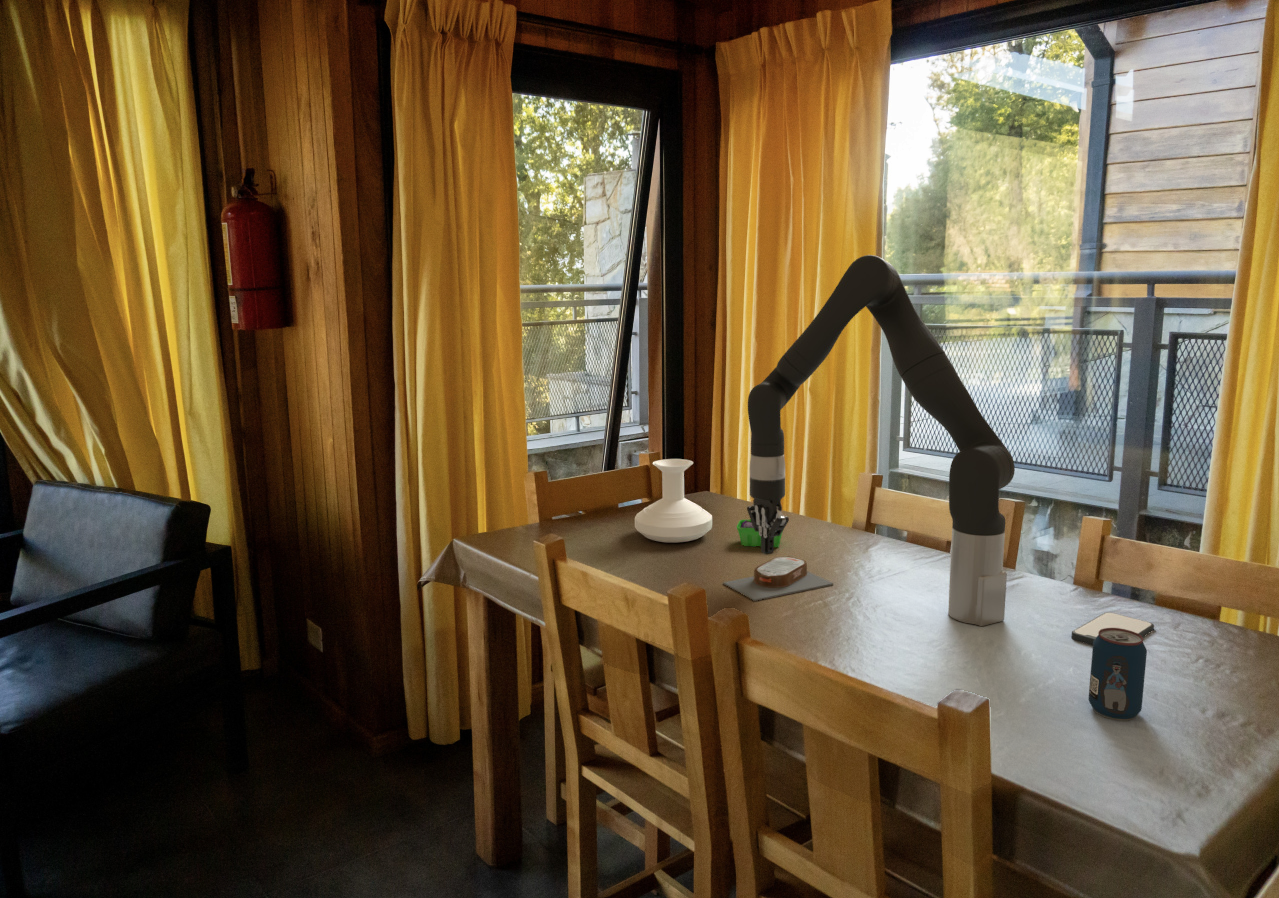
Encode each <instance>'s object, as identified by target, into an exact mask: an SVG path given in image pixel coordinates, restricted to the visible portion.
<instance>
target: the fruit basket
mask: <svg viewBox="0 0 1279 898" xmlns="http://www.w3.org/2000/svg"><path fill="white" fill-rule="evenodd" d="M736 530H737V532H738V535H739V540H740V545H741V546H742V545H744V546H743V547H756V546H760V547H761V536H760V535H759V532H758V531H757V532H756V531H755V529H754V527H753V524H752V522H751V519H750V518H749V519H740V520H739V521H738V523H737V525H736ZM783 533H784V530H783V531H782V533H781V535H780V536H775V537H774V548H779V547H780V543H781V539H782V536H783Z"/></svg>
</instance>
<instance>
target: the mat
mask: <svg viewBox="0 0 1279 898" xmlns="http://www.w3.org/2000/svg"><path fill="white" fill-rule="evenodd" d="M753 579H754V575H753V576H749V577H743V578H739V579H732V580H727V581H723V582H722V584H723V585H724V586H726V587H727V586H728V587H727V588H729V587H730V588H729V589H731V588H732V589H731V590H733V589H734V590H733V591H735V590H736V591H738V592H740V593H742V594H744V595H745V596H747V597H749V598H750V599H749V598H748V599H749V600H751V599H752V600H753V602H758V600H759V601H762V599H764V600H768V599H771V598H776V597H782V596H783V597H784V596H787V595H791V594H797V593H801V592H802V593H803V592H806V591H811V590H817V589H820V588H825V587H829V586H834V582H832V581H829V580H827V579H825V578H823V577H821V576H819V575H816V574H815V573H813V572H810V571H809V570H807V575H806V576H804V577H803V578H801V579H799V580H797V581H796V582H794V583H792V584H791V585H789V586H786V587H780V588H771V587H764V586H760V585H758V584H756V583H755V582H754V581H753ZM736 591H735V592H736ZM738 592H737V593H738ZM740 593H739V594H740ZM742 594H741V595H742ZM744 595H743V596H744ZM745 596H744V597H745ZM747 597H746V598H747ZM752 600H751V601H752Z"/></svg>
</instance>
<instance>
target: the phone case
mask: <svg viewBox="0 0 1279 898" xmlns="http://www.w3.org/2000/svg"><path fill="white" fill-rule="evenodd" d="M1104 628H1120V629H1126V630H1130V631H1133V632H1135V633H1137V634H1139V635H1141V636H1142V637H1143V638H1145V637H1146V636H1147V635H1149V634H1150V633H1151V631H1152V630H1153V629H1155V625H1154V623H1152V622H1151V621H1150V622H1149V621H1146V620H1143V619H1138V618H1134V617H1131V616H1126V615H1122V614H1119V613H1115V612H1110V611H1109V612H1104V613H1102V614H1100V615H1099V616H1097V617H1095V618H1093V619H1092V620H1090V621H1088V622H1086V623H1084V624H1082V625H1080V626H1079V627H1077V628H1076V629H1073V630H1072V631H1071V639H1072V640H1074V641H1076V640H1077V641H1076V642H1079V641H1080V642H1081V643H1083V642H1084V643H1083V644H1086V643H1087V645H1090V644H1091V645H1090V646H1093V641H1094V640H1095V639H1096V637H1097V636H1098V635H1099V634H1098V633H1099V631H1100V630H1101V629H1104ZM1153 631H1154V630H1153ZM1153 631H1152V632H1153ZM1149 632H1150V633H1149ZM1148 633H1149V634H1148ZM1146 634H1147V635H1146ZM1145 635H1146V636H1145ZM1144 636H1145V637H1144ZM1080 642H1079V643H1080Z"/></svg>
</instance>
